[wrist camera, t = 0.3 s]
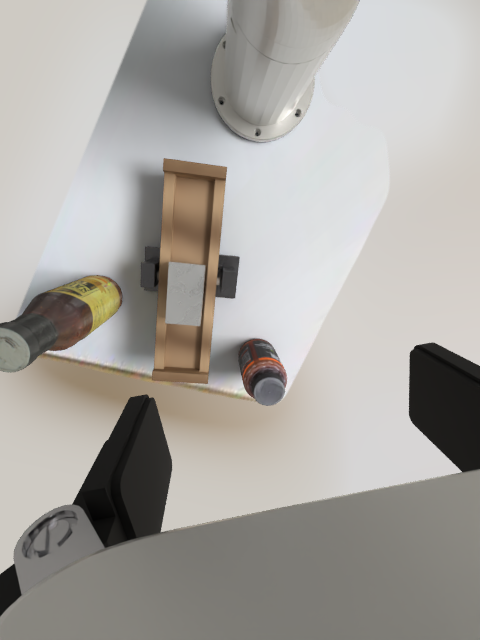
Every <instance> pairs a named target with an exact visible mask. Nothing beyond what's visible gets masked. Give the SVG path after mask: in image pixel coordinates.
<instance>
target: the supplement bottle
mask: <svg viewBox="0 0 480 640" xmlns="http://www.w3.org/2000/svg"><path fill="white" fill-rule="evenodd" d="M239 365H240V369H241V375H242V380H243V384H244V387H245V390H246V391H247V393H248V394H249V395H250V396H251V397H253V398H254V399H256V401H257V402H258V403H260V404H262V405H266V406H270V405H274V404H276V403H278V402H279V401H281V399H282V398H283V396H284V393H285V387H286V384H287V375H286V372H285V369H284V367H283V365H282V363H281V361H280V359H279V357H278V355H277V353H276V352H275V349H274V348H273V346H272V345H271V344H270V343H269V342H267V341H265V340H262V339H253V340H250V341H248V342H246V343H245V344H244V345H243V346H242V348H241V349H240V352H239Z"/></svg>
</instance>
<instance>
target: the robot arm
mask: <svg viewBox="0 0 480 640" xmlns="http://www.w3.org/2000/svg"><path fill="white" fill-rule="evenodd" d="M359 1H360V0H228V5H227V25H226V34H225V35H224V36H223V38H222V39H221V41H220V43H219V45H218V46H217V48H216V51H215V54H214V57H213V61H212V68H211V89H212V95H213V99H214V103H215V106H216V108H217V110H218V113H219V115H220V116H221V118H222V119H223V121H224V122H225V123H226V124H227V126H228V127H229V128H230V129H231V130H232V131H234V132H235V133H237V134H238V135H239V136H241V137H243V138H246V139H248V140H251V141H256V142H269V141H273V140H277V139H279V138H281V137H283V136H285V135H287V134H288V133H289V132H291V131H292V130H293V129H294V128H295V127H296V126H297V125H298V124H299V123H300V121H301V120H302V119H303V117H304V116H305V114H306V112H307V110H308V108H309V106H310V103H311V100H312V97H313V91H314V85H315V75H316V74H317V72H318V70H319V69H320V67H321V66H322V64H323V63H324V61H325V60H326V58H327V56H328V55H329V53H330V52H331V50H332V49H333V47H334V46H335V44H336V43H337V41H338V39H339V38H340V36H341V35H342V33H343V32H344V30H345V28H346V26H347V25H348V23H349V22H350V20H351V18H352V16H353V14H354V12H355V10H356V8H357V6H358V4H359ZM224 48H225V49H224ZM221 101H222V102H223V103H224V104H223V105H220V102H221ZM295 114H298V117H296V116H295ZM256 132H257V133H258V134H259V136H256V135H255V133H256ZM409 378H410V379H409V381H410V382H409V416H410V419H411V421H412V423H413V424H414V425H415V426H416V427H417V428H418V429H419V430H420V431H421V432H422V433H423V434H424V435H425V436H426V437H427V438H428V439H429V440H430V441H431V442H432V443H433V444H434V445H436V446H437V448H438V449H440V450H441V451H442V452H443V453H444V454H445V455H446V456H447V457H448V458H449V459H450V460H451V461H452V462H453V463H454V464H455V465H456V466H457V467H458V468H459V469H460V470H461V471H462V473H457V474H451V475H446V476H441V477H436V478H431V479H425V480H420V481H415V482H410V483H405V484H400V485H394V486H389V487H384V488H379V489H374V490H368V491H364V492H358V493H353V494H348V495H343V496H339V497H333V498H328V499H323V500H317V501H312V502H308V503H302V504H297V505H292V506H288V507H282V508H277V509H272V510H267V511H262V512H257V513H252V514H247V515H242V516H237V517H232V518H227V519H222V520H218V521H213V522H207V523H203V524H198V525H193V526H188V527H183V528H178V529H174V530H170V531H165V532H161V527H162V521H163V515H164V510H165V505H166V499H167V494H168V488H169V483H170V478H171V472H172V459H171V456H170V452H169V449H168V445H167V441H166V438H165V434H164V431H163V427H162V423H161V420H160V416H159V413H158V409H157V406H156V402H155V400H154V398H149V396H148V395H141V396H135V397H131V398H130V399H129V400H128V403H127V404H126V406H125V408H124V410H123V412H122V414H121V416H120V418H119V420H118V422H117V424H116V426H115V427H114V430H113V431H112V433H111V435H110V437H109V439H108V440H107V441H106V442H105V443H104V445H103V447H102V449H101V451H100V453H99V454H98V456H97V458H96V460H95V462H94V464H93V466H92V468H91V470H90V472H89V474H88V475H87V477H86V479H85V481H84V483H83V485H82V487H81V489H80V491H79V493H78V494H77V496H76V498H75V500H74V502H73V504H72V505H64V506H61V507H58V508H55V509H53V510H51V511H49V512H48V513H46V514H44V515H43V516H41V517H40V518H39V519H38V520H36V521H35V522H34V523H33V524H32V525H31V526H30V527H29V528H28V529H27V530H26V531H25V532H24V533H23V535H22V536H21V537H20V539H19V540H18V542H17V545H16V547H15V549H14V564H13V565H12V566H11V567H9V568H8V569H7V570H5V571H4V572H3V573H1V574H0V640H480V366H479V365H477V364H475V363H473V362H471V361H469V360H467V359H465V358H463V357H461V356H459V355H457V354H455V353H453V352H451V351H449V350H447V349H445V348H443V347H441V346H439V345H438V344H435V343H427V344H422V345H416V346H415V347H414V349H413V350H412V351H411V352H410V377H409ZM160 532H161V533H160Z"/></svg>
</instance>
